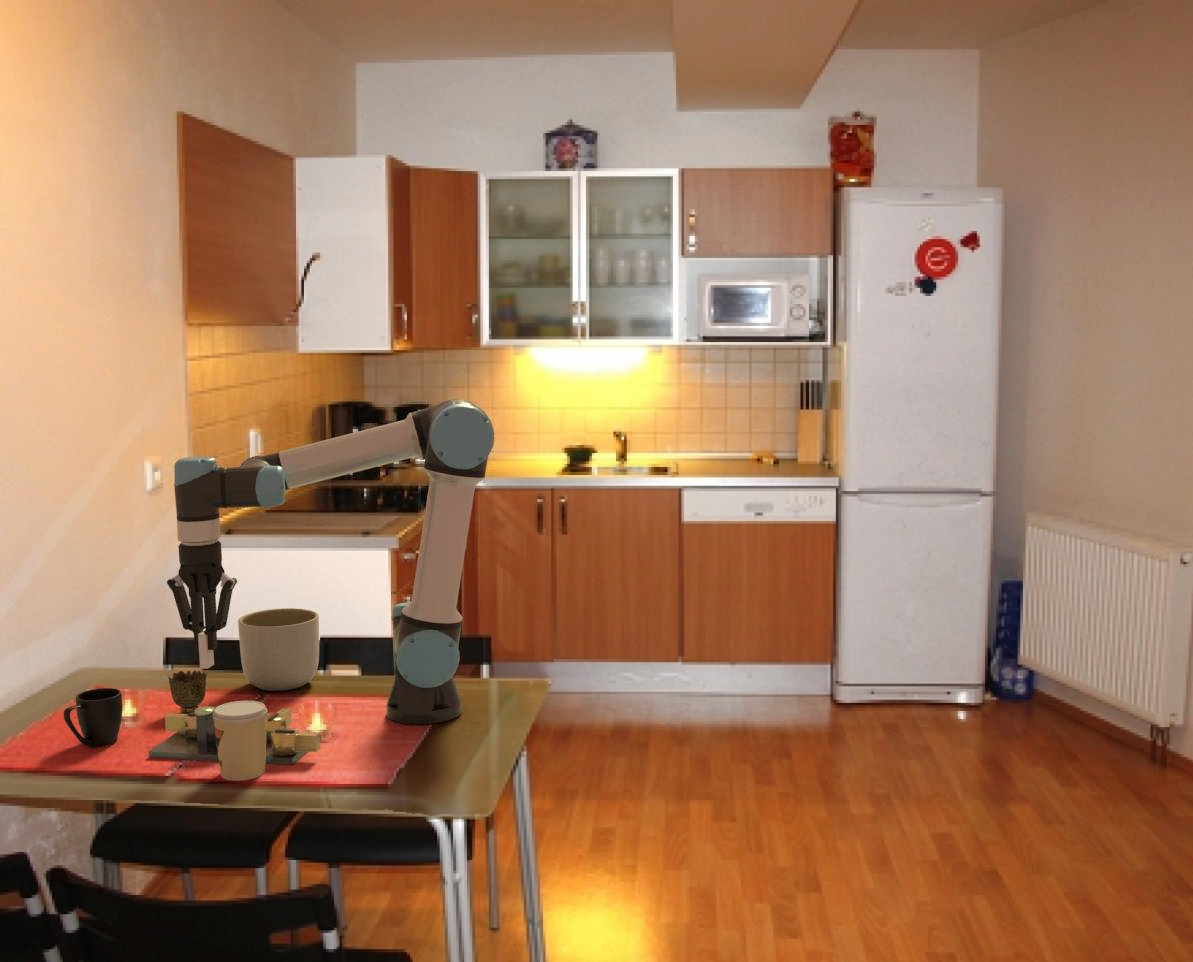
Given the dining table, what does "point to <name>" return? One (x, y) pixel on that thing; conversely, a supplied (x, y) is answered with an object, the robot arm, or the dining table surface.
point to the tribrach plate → (209, 754)
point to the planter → (279, 647)
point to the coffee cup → (241, 739)
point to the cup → (188, 690)
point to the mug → (97, 716)
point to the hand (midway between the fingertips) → (207, 666)
